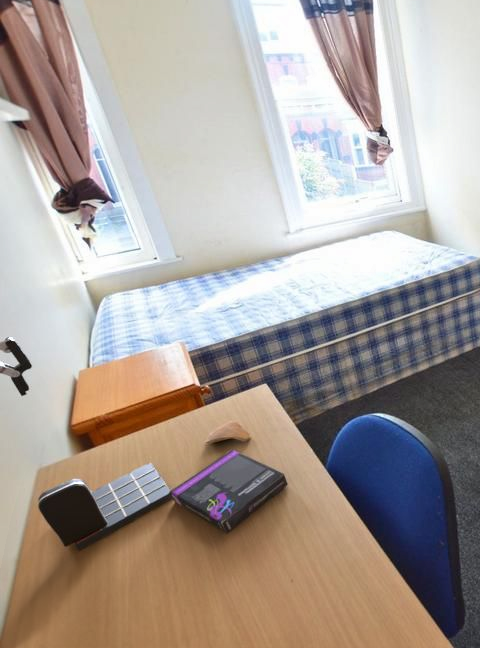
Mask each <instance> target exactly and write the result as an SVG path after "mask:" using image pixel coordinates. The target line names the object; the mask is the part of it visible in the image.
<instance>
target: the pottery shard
mask: <svg viewBox="0 0 480 648" xmlns="http://www.w3.org/2000/svg"><path fill="white" fill-rule="evenodd" d="M229 439H233V440H238V441H241V442H243V443H246V442H247V441H249V440H250V439H252V435H251V433H249V432H248V431H247V430H246V429H245V428H244V427H242V425H241V424H240V423H239V421H235V420H230V421H227V422H226V423H224V424H222V425H221V426H219V427H216V428H215V429H214V430H212V431H211V432H210V433H209V434H208V436H207V438H206V439H205V444H207V445H210V444H212V443H217V442H222V441H225V440H229Z"/></svg>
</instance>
